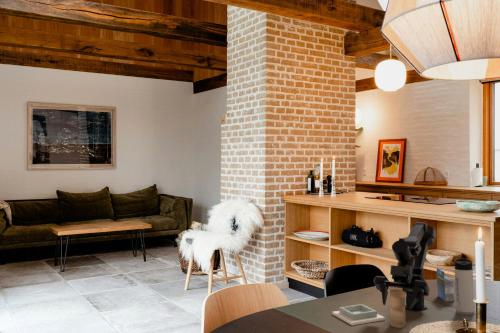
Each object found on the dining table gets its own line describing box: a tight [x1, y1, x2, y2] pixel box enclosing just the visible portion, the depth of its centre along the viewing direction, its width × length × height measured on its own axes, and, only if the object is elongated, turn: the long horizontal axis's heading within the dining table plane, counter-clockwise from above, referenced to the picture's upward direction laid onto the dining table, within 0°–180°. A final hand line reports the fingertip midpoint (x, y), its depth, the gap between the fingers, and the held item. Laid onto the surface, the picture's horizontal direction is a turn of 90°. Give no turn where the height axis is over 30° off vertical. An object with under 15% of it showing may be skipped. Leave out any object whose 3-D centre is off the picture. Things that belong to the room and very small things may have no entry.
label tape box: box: [436, 267, 455, 303], centre depth 199 cm, size 9×4×12 cm, turn 179°
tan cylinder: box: [389, 289, 407, 329], centre depth 168 cm, size 5×5×12 cm
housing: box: [331, 303, 386, 326], centre depth 179 cm, size 14×14×3 cm
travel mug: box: [454, 257, 475, 316], centre depth 180 cm, size 6×7×20 cm
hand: (396, 306), depth 167 cm, fingers open, 9 cm apart
